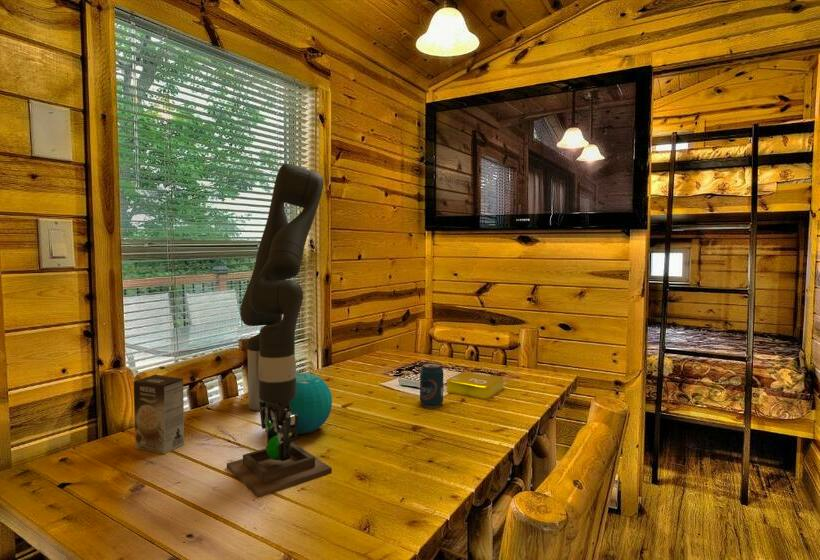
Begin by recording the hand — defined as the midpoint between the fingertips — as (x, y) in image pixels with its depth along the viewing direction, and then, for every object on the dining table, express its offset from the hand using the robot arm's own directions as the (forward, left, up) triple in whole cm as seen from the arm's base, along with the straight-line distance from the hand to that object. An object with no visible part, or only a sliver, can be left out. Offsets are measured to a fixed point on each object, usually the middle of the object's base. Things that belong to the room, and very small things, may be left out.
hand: (278, 454), depth 102 cm
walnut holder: (0, 0, -3) cm, 3 cm away
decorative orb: (-16, +14, -4) cm, 21 cm away
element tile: (-13, +75, -4) cm, 76 cm away
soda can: (-11, +54, -4) cm, 55 cm away
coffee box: (-29, -16, -4) cm, 33 cm away
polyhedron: (0, 0, -1) cm, 1 cm away
